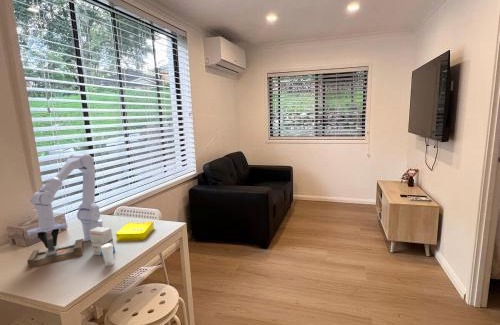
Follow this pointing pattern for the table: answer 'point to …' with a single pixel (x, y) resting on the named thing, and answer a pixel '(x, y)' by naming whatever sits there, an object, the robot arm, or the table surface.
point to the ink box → (100, 239)
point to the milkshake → (107, 254)
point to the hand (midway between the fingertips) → (51, 246)
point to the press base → (64, 253)
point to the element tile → (135, 231)
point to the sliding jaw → (51, 248)
